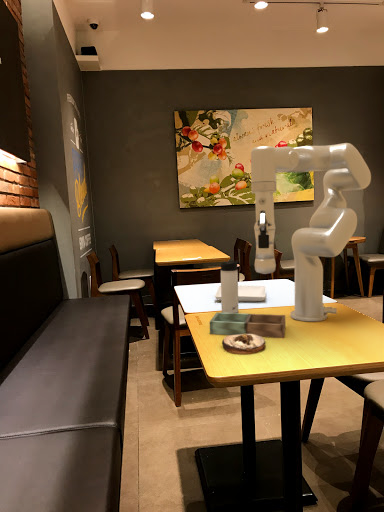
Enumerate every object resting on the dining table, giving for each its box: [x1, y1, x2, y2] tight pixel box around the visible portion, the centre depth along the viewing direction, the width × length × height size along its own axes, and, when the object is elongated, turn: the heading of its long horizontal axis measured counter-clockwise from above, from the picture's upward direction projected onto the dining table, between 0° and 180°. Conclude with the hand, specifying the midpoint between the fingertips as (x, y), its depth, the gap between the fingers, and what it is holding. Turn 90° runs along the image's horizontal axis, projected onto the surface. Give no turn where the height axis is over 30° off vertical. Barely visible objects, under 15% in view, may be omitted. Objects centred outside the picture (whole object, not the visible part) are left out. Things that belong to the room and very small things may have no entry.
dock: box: [209, 312, 286, 339], centre depth 128 cm, size 23×11×4 cm, turn 75°
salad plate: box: [214, 285, 267, 303], centre depth 174 cm, size 21×21×3 cm
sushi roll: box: [221, 334, 266, 355], centre depth 114 cm, size 15×15×4 cm
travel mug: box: [220, 260, 239, 313], centre depth 147 cm, size 6×7×20 cm
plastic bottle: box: [253, 221, 277, 275], centre depth 124 cm, size 6×7×20 cm
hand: (264, 246), depth 124 cm, fingers closed on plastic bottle, 6 cm apart
